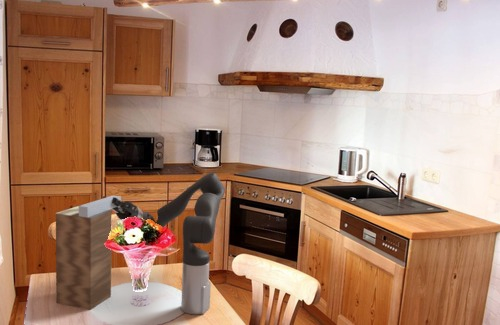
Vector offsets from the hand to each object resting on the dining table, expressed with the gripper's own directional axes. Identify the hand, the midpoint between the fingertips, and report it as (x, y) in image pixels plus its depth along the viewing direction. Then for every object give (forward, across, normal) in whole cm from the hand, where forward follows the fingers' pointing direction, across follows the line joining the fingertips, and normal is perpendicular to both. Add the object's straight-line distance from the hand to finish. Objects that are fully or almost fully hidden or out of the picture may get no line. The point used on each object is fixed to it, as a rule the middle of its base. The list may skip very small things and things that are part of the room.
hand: (108, 199), depth 175 cm
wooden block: (-10, +4, -35) cm, 37 cm away
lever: (+2, 0, -5) cm, 6 cm away
